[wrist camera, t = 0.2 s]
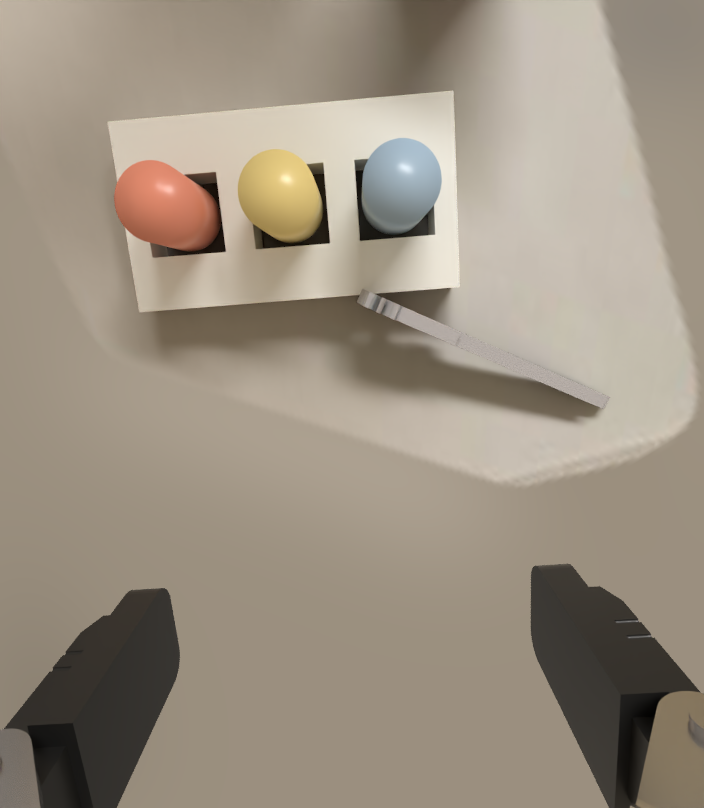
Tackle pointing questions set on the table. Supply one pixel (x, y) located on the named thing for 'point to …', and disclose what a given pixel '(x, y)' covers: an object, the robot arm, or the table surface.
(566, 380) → the caliper
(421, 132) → the console
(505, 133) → the table surface
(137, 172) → the button terracotta
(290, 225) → the yellow rounded cylinder
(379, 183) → the button blue
